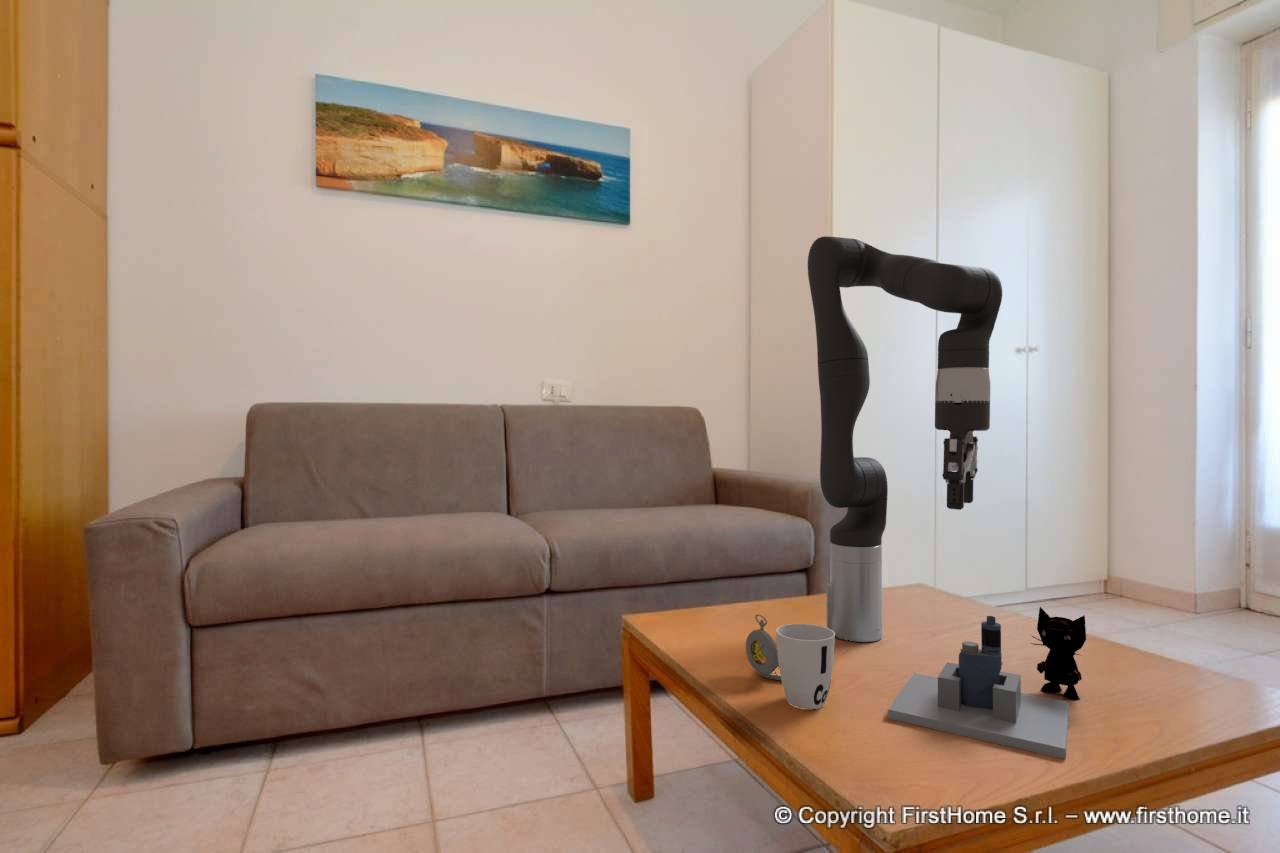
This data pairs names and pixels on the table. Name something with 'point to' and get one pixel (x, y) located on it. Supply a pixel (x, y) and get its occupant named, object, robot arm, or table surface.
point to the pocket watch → (762, 651)
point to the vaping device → (981, 666)
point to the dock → (985, 712)
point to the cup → (805, 663)
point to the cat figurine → (1060, 652)
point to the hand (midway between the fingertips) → (960, 505)
